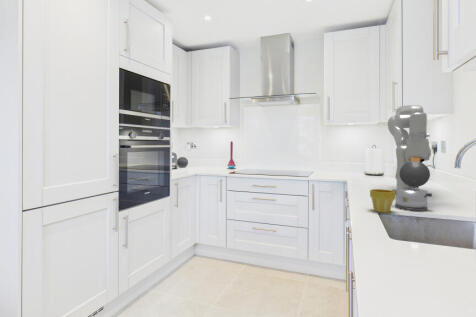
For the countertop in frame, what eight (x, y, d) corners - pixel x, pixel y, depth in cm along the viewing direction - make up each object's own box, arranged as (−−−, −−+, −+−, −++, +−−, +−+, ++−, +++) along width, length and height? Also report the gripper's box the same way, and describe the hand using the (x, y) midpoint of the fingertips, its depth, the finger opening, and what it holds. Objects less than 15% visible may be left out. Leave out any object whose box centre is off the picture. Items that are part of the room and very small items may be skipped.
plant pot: (388, 208, 130) (388, 188, 130) (399, 214, 120) (399, 192, 120) (366, 208, 131) (366, 188, 131) (374, 213, 121) (375, 192, 121)
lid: (398, 186, 140) (399, 186, 141) (428, 189, 131) (429, 189, 132) (400, 157, 141) (401, 157, 142) (430, 157, 133) (430, 158, 133)
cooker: (394, 203, 143) (395, 186, 142) (433, 208, 132) (433, 189, 131) (388, 207, 132) (388, 189, 132) (429, 213, 121) (430, 193, 121)
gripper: (435, 136, 138) (434, 171, 139) (402, 137, 148) (401, 170, 149) (434, 135, 132) (433, 172, 133) (399, 136, 142) (398, 170, 143)
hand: (416, 171), depth 141 cm, fingers closed
